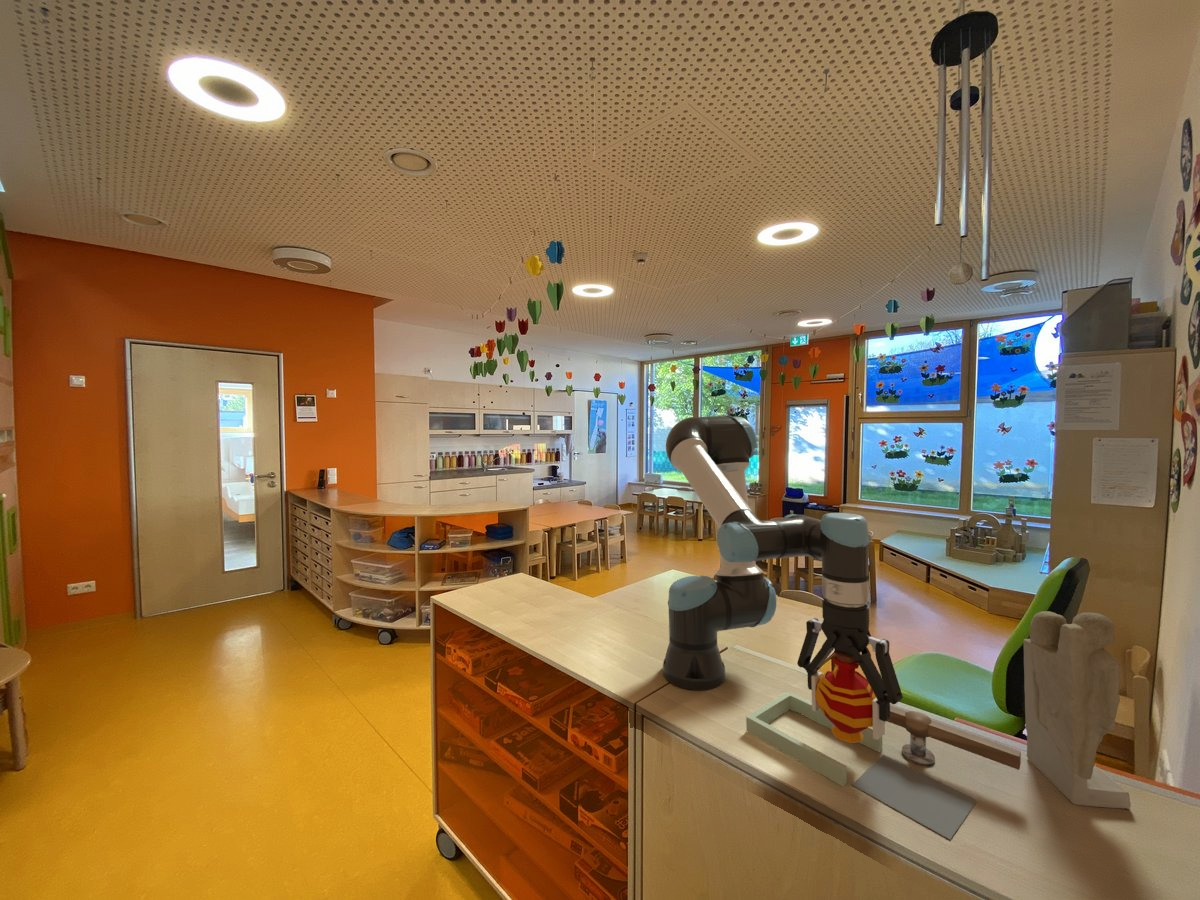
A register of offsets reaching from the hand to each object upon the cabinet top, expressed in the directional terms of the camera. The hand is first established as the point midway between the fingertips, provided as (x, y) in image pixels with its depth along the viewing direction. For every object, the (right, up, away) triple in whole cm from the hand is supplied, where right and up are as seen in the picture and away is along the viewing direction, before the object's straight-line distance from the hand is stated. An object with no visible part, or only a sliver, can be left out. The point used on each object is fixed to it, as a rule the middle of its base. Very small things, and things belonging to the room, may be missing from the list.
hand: (846, 721), depth 87 cm
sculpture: (+34, -7, -8) cm, 36 cm away
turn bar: (+15, -2, -2) cm, 15 cm away
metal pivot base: (+13, -7, 0) cm, 15 cm away
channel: (-3, -7, +5) cm, 9 cm away
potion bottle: (0, -3, 0) cm, 3 cm away
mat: (+7, -7, -8) cm, 13 cm away
